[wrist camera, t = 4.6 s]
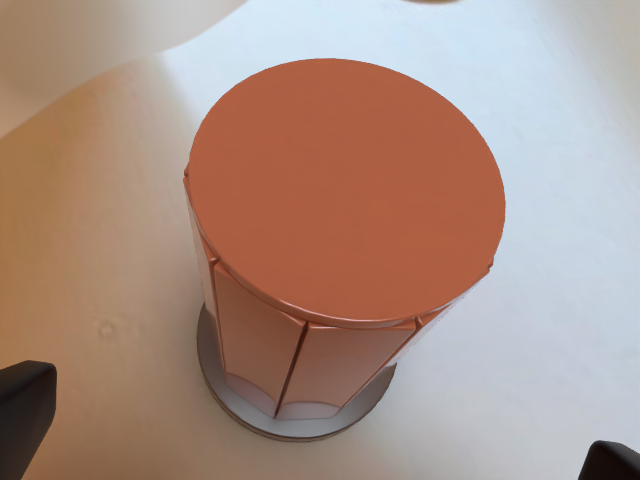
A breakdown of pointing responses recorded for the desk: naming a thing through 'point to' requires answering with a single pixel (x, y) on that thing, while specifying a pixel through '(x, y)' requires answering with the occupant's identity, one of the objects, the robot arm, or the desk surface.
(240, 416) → the towel holder
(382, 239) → the fluted orange cylinder
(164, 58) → the desk surface
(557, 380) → the desk surface
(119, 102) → the desk surface
